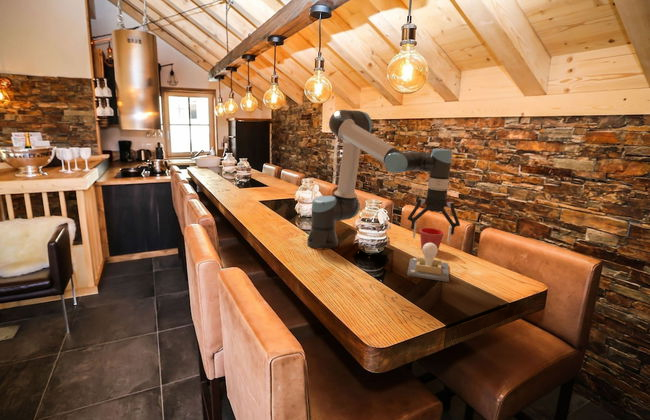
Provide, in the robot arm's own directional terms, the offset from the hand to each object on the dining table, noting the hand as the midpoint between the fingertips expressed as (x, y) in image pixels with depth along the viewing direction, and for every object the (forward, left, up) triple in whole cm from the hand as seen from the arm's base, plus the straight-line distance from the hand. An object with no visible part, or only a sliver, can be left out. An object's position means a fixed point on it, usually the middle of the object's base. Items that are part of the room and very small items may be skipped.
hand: (430, 239), depth 146 cm
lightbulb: (0, 0, -13) cm, 13 cm away
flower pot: (0, +27, -14) cm, 30 cm away
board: (0, 0, -14) cm, 14 cm away
